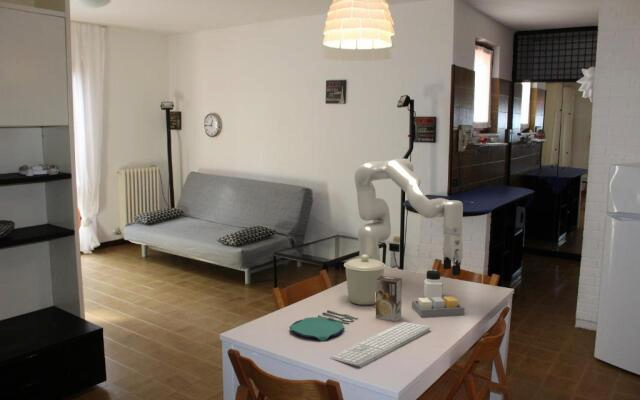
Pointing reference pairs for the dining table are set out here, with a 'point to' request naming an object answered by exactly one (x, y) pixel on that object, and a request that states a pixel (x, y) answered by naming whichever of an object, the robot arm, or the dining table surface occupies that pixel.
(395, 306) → the coffee box
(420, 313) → the keypad frame
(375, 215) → the robot arm
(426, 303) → the key cream
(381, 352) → the keyboard
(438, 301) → the key grey
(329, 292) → the dining table surface
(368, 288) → the canister
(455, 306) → the yellow rectangular block
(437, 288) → the medicine bottle
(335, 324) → the cutlery set
